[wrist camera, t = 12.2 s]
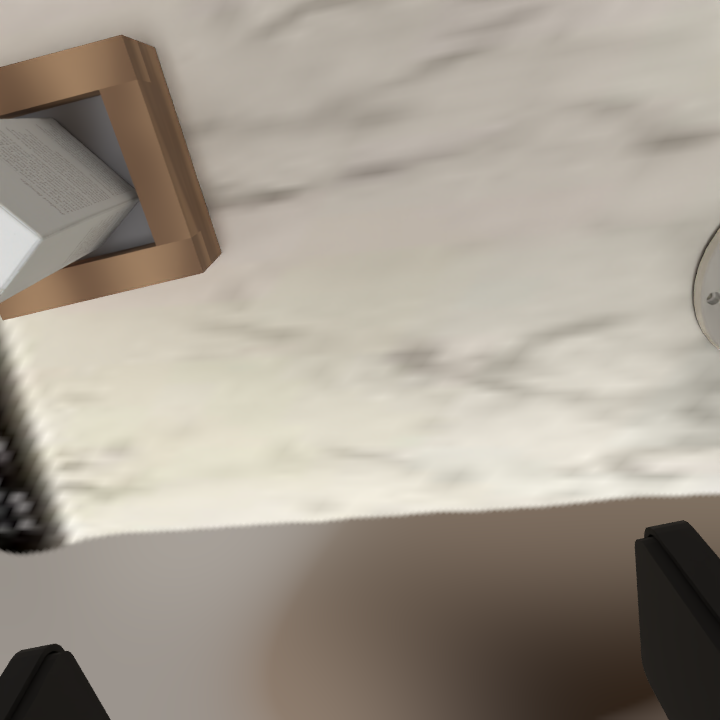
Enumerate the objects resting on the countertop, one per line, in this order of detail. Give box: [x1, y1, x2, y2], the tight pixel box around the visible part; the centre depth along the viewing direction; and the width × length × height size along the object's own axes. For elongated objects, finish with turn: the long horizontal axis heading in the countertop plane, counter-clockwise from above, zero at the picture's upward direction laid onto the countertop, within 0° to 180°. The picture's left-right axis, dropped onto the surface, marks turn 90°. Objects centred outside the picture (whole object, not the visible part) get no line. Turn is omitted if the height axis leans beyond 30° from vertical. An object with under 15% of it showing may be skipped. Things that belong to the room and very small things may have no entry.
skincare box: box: [0, 118, 139, 303], centre depth 27 cm, size 6×4×12 cm
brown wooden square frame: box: [0, 35, 221, 320], centre depth 33 cm, size 12×12×5 cm
